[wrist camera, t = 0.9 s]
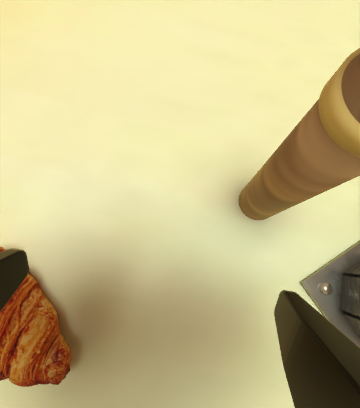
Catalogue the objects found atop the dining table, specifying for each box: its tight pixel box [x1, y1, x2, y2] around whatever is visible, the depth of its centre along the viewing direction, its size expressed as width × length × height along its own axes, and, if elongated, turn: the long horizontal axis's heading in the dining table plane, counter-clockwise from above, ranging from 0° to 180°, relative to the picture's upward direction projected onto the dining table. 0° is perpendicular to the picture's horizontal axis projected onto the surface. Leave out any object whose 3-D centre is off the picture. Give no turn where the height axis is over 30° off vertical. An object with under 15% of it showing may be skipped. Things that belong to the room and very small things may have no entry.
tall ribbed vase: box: [239, 48, 360, 220], centre depth 14 cm, size 4×4×15 cm
